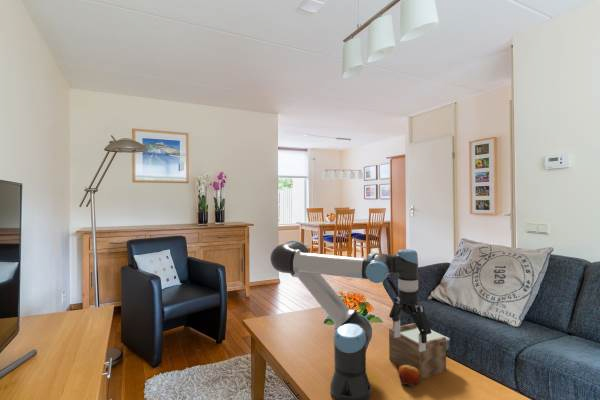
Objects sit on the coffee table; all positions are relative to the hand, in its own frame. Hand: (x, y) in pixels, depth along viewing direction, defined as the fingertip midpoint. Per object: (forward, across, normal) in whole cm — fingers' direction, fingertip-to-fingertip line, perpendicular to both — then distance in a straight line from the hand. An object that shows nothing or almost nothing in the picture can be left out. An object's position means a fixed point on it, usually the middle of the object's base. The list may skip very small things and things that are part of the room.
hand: (409, 343), depth 127 cm
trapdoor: (+8, +9, -15) cm, 19 cm away
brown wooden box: (+15, +9, -12) cm, 22 cm away
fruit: (+16, 0, 0) cm, 16 cm away
